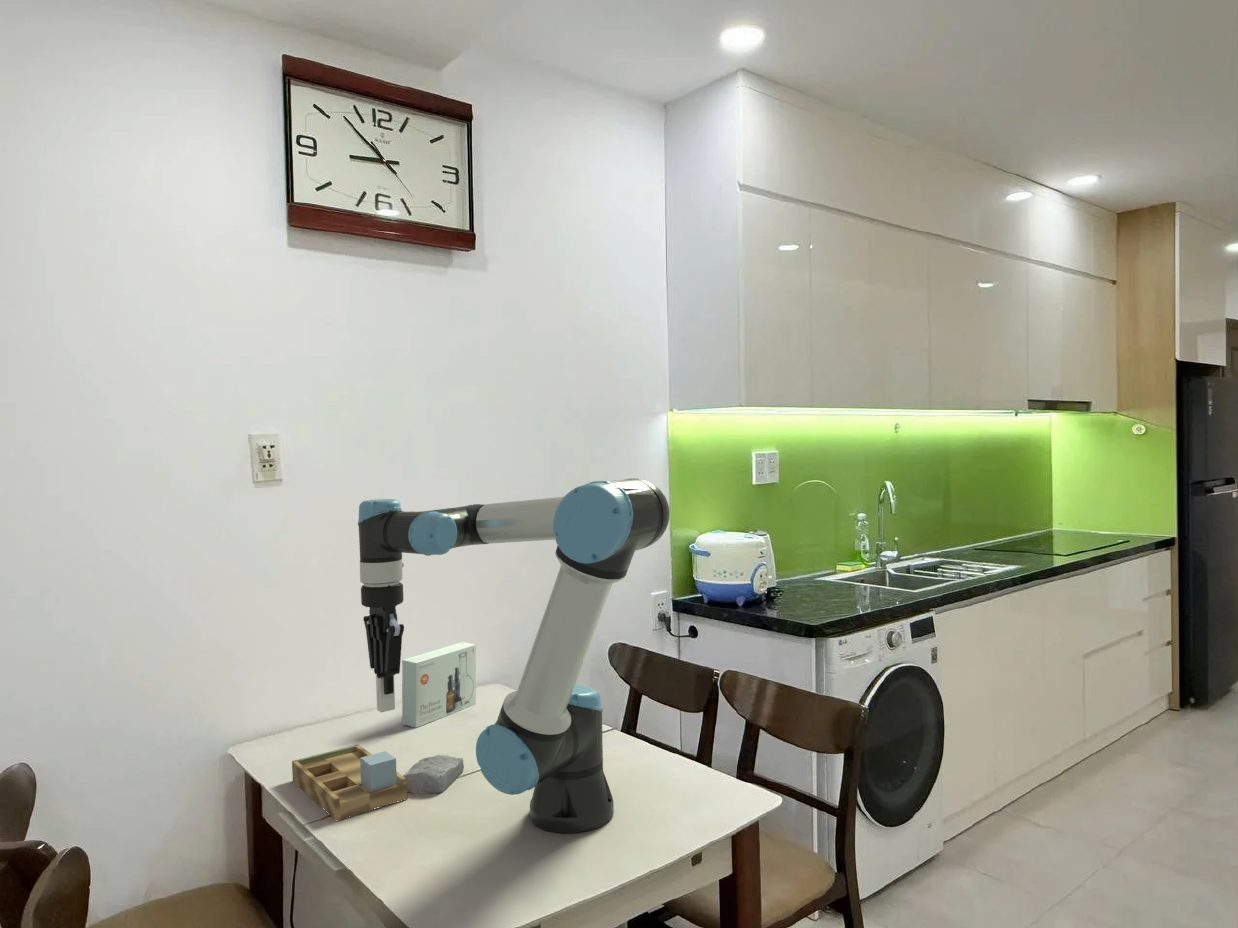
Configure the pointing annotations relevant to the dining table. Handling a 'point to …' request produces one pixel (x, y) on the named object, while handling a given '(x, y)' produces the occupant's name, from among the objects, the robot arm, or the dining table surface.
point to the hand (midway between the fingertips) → (386, 709)
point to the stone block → (434, 774)
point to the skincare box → (438, 683)
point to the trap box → (343, 783)
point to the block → (378, 771)
